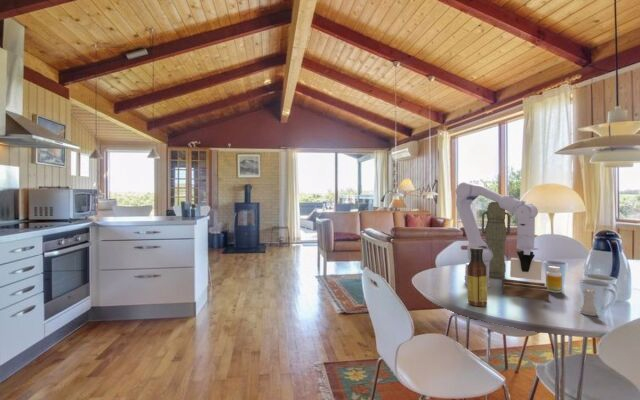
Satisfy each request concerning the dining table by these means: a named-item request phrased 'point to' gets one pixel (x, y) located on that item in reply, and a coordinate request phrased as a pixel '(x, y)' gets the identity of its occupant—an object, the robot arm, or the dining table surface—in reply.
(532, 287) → the rack
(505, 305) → the dining table surface
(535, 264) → the beige rectangular block
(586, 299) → the rook chess piece
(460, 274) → the dining table surface
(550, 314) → the dining table surface
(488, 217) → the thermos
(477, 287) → the sauce bottle
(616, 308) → the dining table surface
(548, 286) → the supplement bottle
